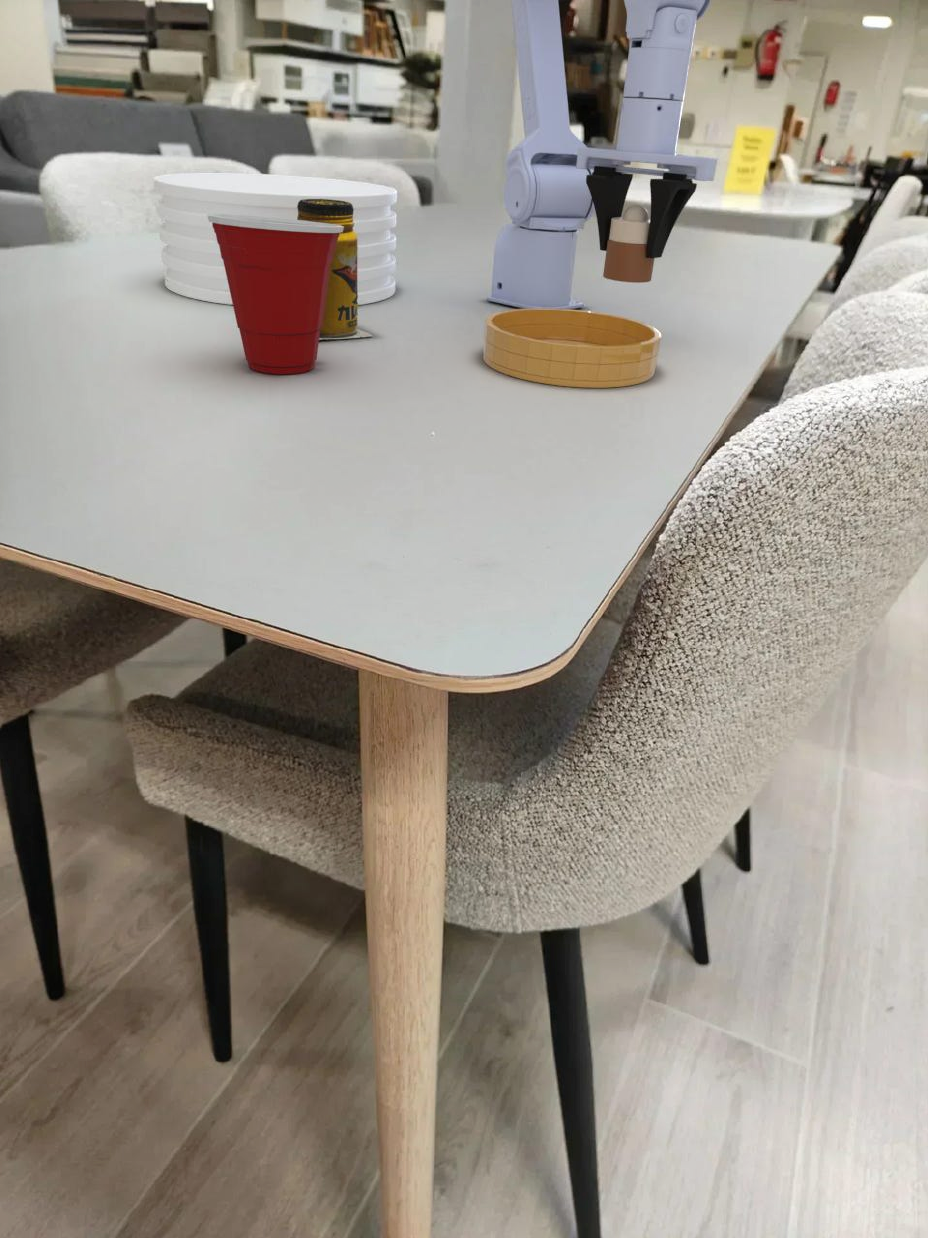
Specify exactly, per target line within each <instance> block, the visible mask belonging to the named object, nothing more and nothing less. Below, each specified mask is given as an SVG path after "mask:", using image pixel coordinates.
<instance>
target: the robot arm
mask: <svg viewBox="0 0 928 1238" xmlns="http://www.w3.org/2000/svg"><path fill="white" fill-rule="evenodd" d="M712 1H713V0H623V3H624V6H625V10H626V24H625V32H626V38H627V40H629V41H630V42H629V48H628V57H627V64H626V69H625V70H626V72H625V80H624V86H623V92H622V93H623V94H622V101H621V109H620V118H619V124H618V133H617V141H616V147H615V149H613V148H612V149H611V148H597V147H588V146H587V145H586V144H585V143H584V142H583V141H582V140H581V139H580V138H578V136H576V135H575V134H574V133H573V132H572V130H571V122H570V113H569V102H568V93H567V92H568V91H567V90H568V89H567V80H566V72H565V60H564V47H563V37H562V27H561V17H560V16H561V15H560V5H559V0H510V3H511V11H512V12H511V13H512V23H513V25H512V26H513V34H514V42H515V43H514V44H515V52H516V63H517V73H518V84H519V92H520V102H521V112H522V121H523V133H524V138H523V139H522V140H520V141H519V143H517V144H516V145H515V146H514V147H513V149H512V150H511V151H509V152H510V153H509V154H508V156H507V157H506V159H505V183H504V189H503V200H504V206H505V210H506V212H507V214H508V216H509V218H510V219H511V220H512V222H511V223H508V224H506V225H505V226H504V227H502V229H500V231H499V233H498V235H497V237H496V241H495V244H494V251H493V264H492V265H493V266H492V281H491V292H490V293H491V294H490V295H488V296H487V297H486V300H487V302H492V303H497V304H501V305H505V306H511V307H515V308H518V309H526V308H554V309H571V310H576V309H579V308H584V306H585V303H584V302H581V301H576V300H571V297H572V287H573V279H574V270H575V263H576V262H575V261H576V253H577V245H578V235H579V230H585V223H587V222H588V221H589V220H590V219H591V217H592V216H593V214H594V213H595V216H596V222H597V231H598V239H599V240H598V241H599V251H603V252H606V250H607V242H608V239H609V235H610V227H611V219H612V218H614V217H623V211H624V206H625V203H626V199H627V196H628V192H629V189H630V186H631V184H632V180H633V178H634V177H633V176H634V174H636V175H647V176H656V177H662V178H650V180H649V190H650V215H649V217H650V218H649V219H650V226H649V233H648V239H647V246H646V258H655V259H658V258H659V259H660V258H662V257H663V253H664V251H665V248H666V246H667V243H668V240H669V237H670V235H671V233H672V231H673V228H674V227H675V225H676V222H677V220H678V218H679V216H680V215H681V213H682V211H683V210H684V209H685V206H686V205H687V203H688V202H689V200H691V197H692V196H693V195H694V194H695V192H696V190H697V186H698V183H696V182H694V181H700V182H713V181H714V180H715V175H716V170H717V165H718V158H717V157H707V156H706V157H705V156H698V155H697V156H696V155H686V154H685V155H684V154H676V150H677V144H678V137H679V131H680V126H681V125H680V124H681V118H682V112H683V107H684V101H685V100H684V99H685V94H686V87H687V81H688V75H689V69H690V63H691V56H692V50H693V44H694V38H695V32H696V27H697V21H699V20H700V19H701V18H702V17H703V16H704V15H705V13H707V10H708V9H709V7H710V5H711V3H712ZM632 163H641V164H655V165H656V169H653V168H643V167H633V166H632V167H630V166H631V164H632Z"/></svg>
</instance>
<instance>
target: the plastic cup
mask: <svg viewBox="0 0 928 1238" xmlns="http://www.w3.org/2000/svg"><path fill="white" fill-rule="evenodd" d="M207 216H208V220H209V222H212V226H213V228H214V232H215V233H216V237H217V243H218V244H219V247H220V252H221V257H222V259H223V262H224V266H225V271H226V276H227V280H228V285H229V289H230V294H231V298H232V303H233V305H232V307H233V312H234V316H235V320H236V321H235V322H236V327H237V329H239V333H240V338H241V343H242V348H243V352H244V356H245V360H246V361H247V365H248V368H250V369H251V370H253V371H256V372H258V373H264V374H272V375H294V374H303V373H305V372H309V371H310V372H311V371H312V370H313V369H314V368H315V364H316V361H317V359H318V352H319V351H318V350H319V344H320V340H319V336H320V329H321V328H322V322H323V315H324V308H325V301H326V294H327V287H328V280H329V273H330V266H331V264H332V260H333V253H334V251H335V248H336V242H337V241H338V237H339V233H341V232H343V229H344V227H343V226H341V225H335V224H328V223H321V222H312V221H304V220H294V219H284V218H272V217H260V216H246V215H228V214H207Z"/></svg>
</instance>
